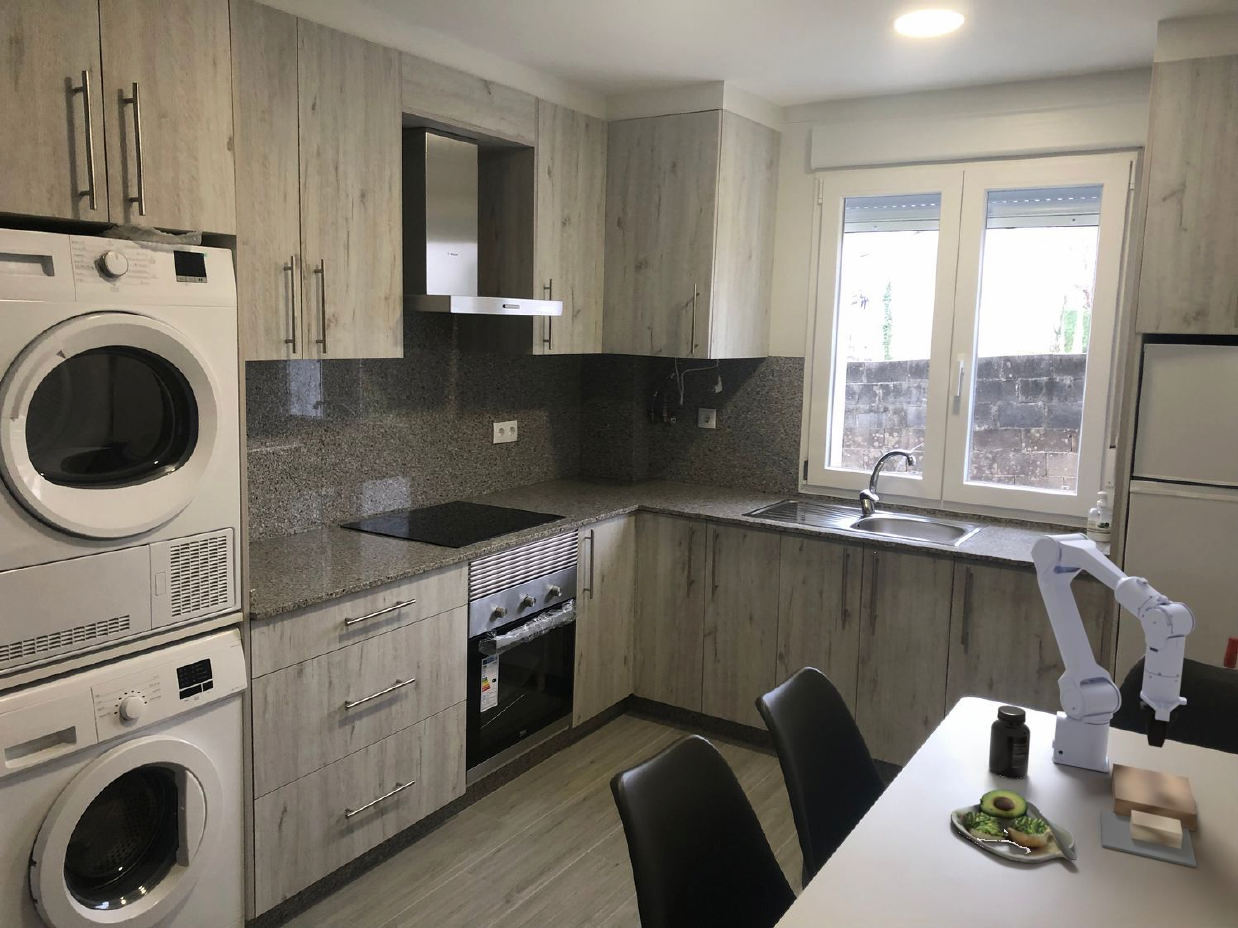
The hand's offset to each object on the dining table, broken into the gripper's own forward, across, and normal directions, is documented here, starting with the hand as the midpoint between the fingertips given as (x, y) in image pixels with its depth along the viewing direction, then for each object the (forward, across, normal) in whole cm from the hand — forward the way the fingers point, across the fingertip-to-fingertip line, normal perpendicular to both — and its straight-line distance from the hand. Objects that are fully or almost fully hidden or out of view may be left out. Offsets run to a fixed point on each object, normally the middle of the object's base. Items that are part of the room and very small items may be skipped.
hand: (1155, 745), depth 169 cm
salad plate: (+10, -26, +22) cm, 35 cm away
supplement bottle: (+10, -2, +24) cm, 25 cm away
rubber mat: (+9, -18, +2) cm, 20 cm away
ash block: (+6, -17, 0) cm, 18 cm away
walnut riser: (+9, -4, 0) cm, 10 cm away
